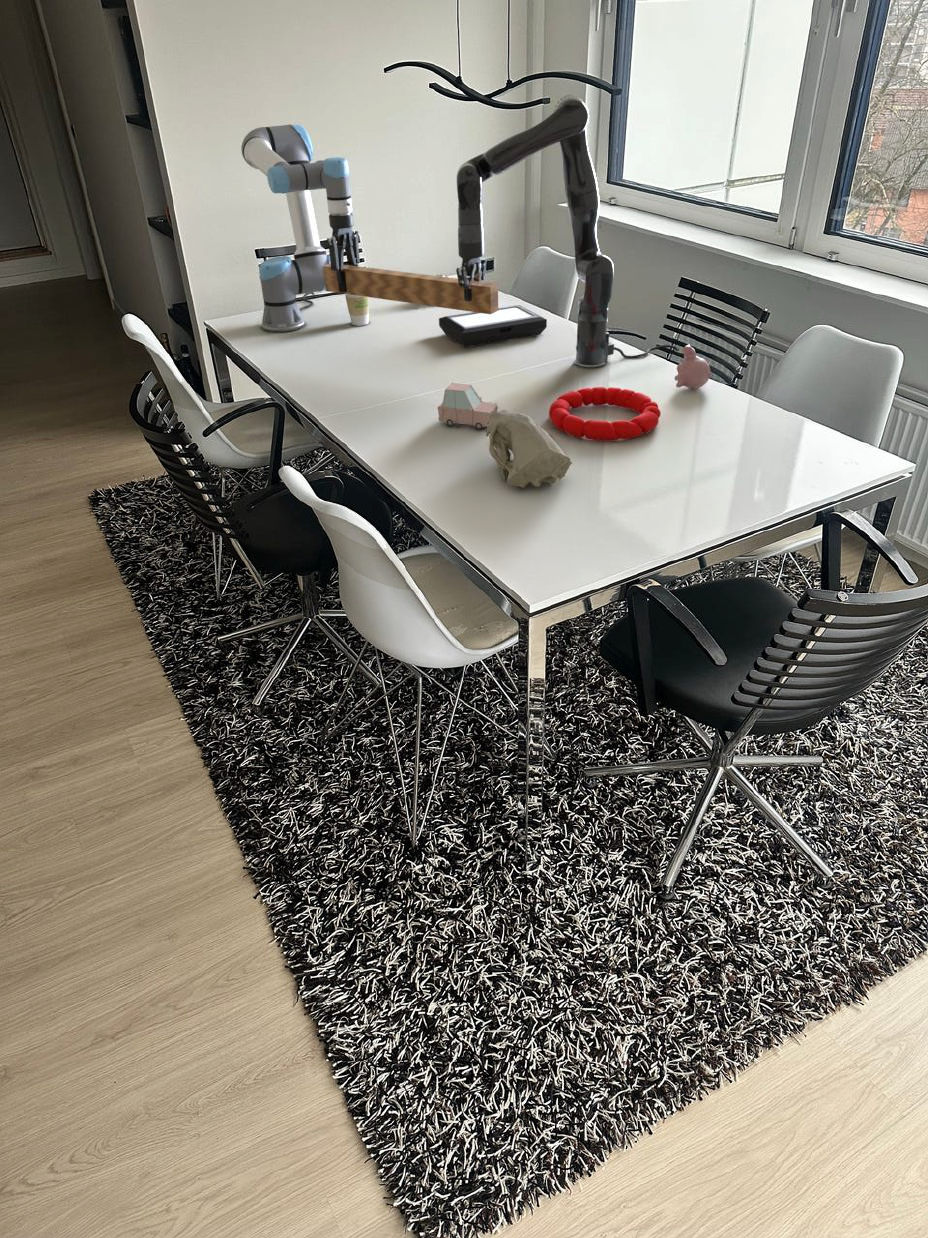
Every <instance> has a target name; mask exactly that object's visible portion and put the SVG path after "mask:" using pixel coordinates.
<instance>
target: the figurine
mask: <svg viewBox="0 0 928 1238" xmlns="http://www.w3.org/2000/svg"><path fill="white" fill-rule="evenodd" d="M682 354H683V358H684V359H683V361H682V362H679V363H678V364H677V365H676V372H677V375H675V376H674V381H675V382H676V381H677V382H676V384H675V386H676V388H681V387H686V388H688V389H693V390H694V389H695V390H696V389H700V388H703V387H704V386H705V385H706V384H707V383H708V382H709V379H710V377H711V367H710V364H709V362H708V361H706V359H704V358H702V357H700V356H697V353H696V350H695V349H694V347H692V345H690V344H686V345H685V346H684V347H683V348H682Z"/></svg>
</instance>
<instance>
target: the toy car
mask: <svg viewBox="0 0 928 1238" xmlns="http://www.w3.org/2000/svg"><path fill="white" fill-rule="evenodd" d="M498 409H499V404H498V403H497V402H490V401H489V402H487V401H483V397H481V396H480V395H479V394H478V393H477V391H476V390H475V389H474V386H472V384H469V383H459V382H451V383H450V384H449V385H448V386H447V387H446V388H445V389H444V394H443V399H442V403H440V404H439V405H438V406H437V413H438V421H439V422H443V423H446V425H447V426H448V427H452V426H454V425H455V424H461V425H469V426H473V427H475V429H476V430H479V431H480V430H481V429H483V428H485V427H486V428H487V423H488V422H490V414H491V413H492V412H496V411H499V410H498Z"/></svg>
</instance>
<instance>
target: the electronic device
mask: <svg viewBox="0 0 928 1238" xmlns="http://www.w3.org/2000/svg"><path fill="white" fill-rule="evenodd" d="M438 326H439V328H440V329H441V330H442V332H443V333H444V334H445V336H447V337H449V338H450V339H452V340H453V341H455V342H456V343H458V344H460V345H461V346H462V347H464V348H468V347H474V346H480V345H486V344H493V343H498V342H504V341H511V340H516V339H522V338H528V337H534V336H540V335H542V333H544V331H545V330H546V329H547V327H548V319H546V318H544V317H543V316H540V315H539V314H537V313H535V312H533V311H531V310H529V309H527V308H526V307H524V306H522V305H519V304H516V305H511V306H503V307H498V311H497V312H495V313H493V314H484V313H477V312H466V313H459V314H453V315H446V316H443V317H439V318H438Z"/></svg>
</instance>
